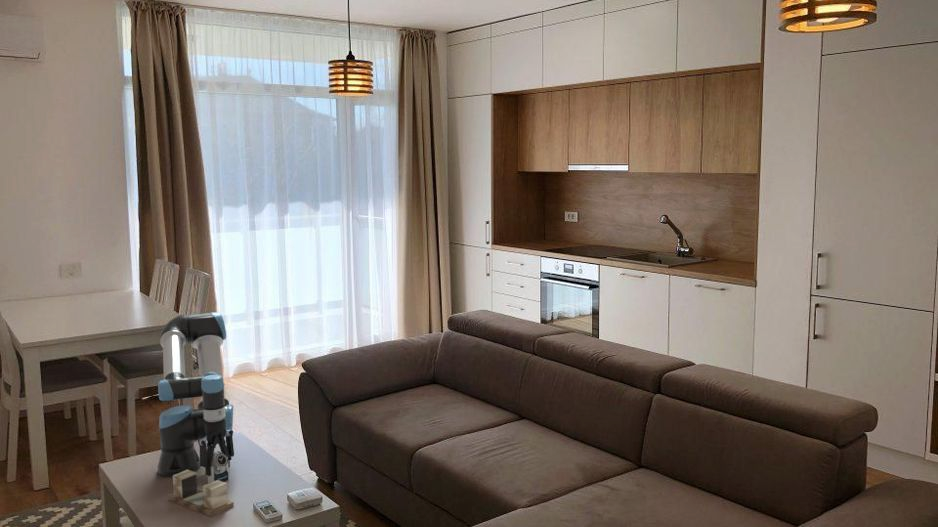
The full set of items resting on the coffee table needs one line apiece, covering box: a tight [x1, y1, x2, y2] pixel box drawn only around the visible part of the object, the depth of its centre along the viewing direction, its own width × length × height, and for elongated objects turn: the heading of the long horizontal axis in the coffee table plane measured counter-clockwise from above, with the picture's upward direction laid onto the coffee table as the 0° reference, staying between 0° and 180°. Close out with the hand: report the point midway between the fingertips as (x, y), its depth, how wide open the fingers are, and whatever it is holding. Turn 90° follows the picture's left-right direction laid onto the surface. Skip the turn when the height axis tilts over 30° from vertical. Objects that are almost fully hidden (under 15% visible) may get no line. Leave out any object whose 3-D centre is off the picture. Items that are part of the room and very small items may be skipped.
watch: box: [211, 450, 230, 483], centre depth 282 cm, size 6×8×11 cm
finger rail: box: [168, 470, 235, 517], centre depth 264 cm, size 23×9×8 cm, turn 55°
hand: (218, 480), depth 282 cm, fingers closed on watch, 6 cm apart
